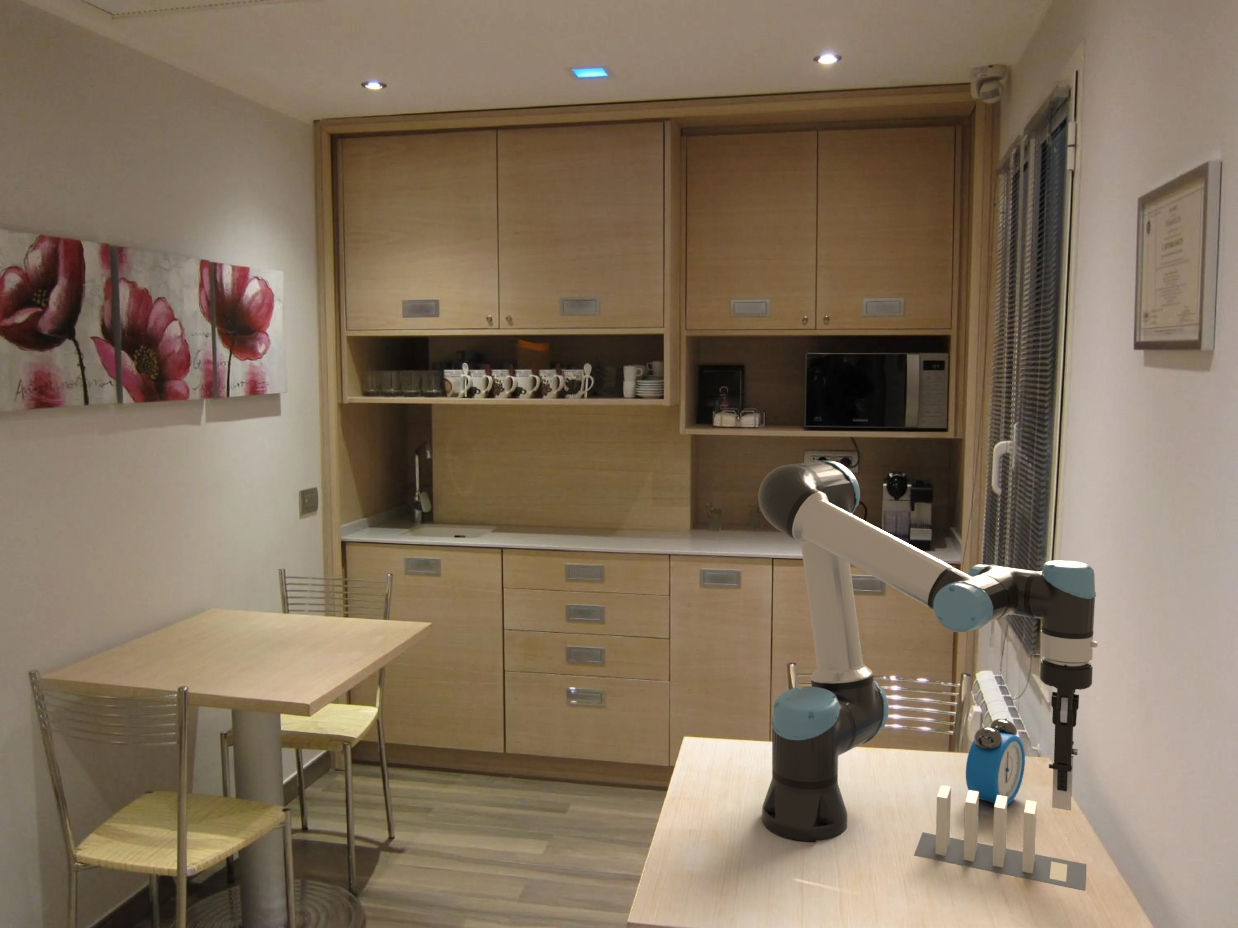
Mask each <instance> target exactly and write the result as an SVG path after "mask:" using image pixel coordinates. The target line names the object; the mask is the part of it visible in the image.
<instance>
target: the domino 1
mask: <svg viewBox="0 0 1238 928" xmlns="http://www.w3.org/2000/svg"><path fill="white" fill-rule="evenodd" d="M951 794H952V786H948V785H940V788H939V790H938V793H937V795H936V815H935V817H936V819H935V821H936V822H935V823H936V825H935V835H936V854H939V855H944V856H946V853H947V849H948V846H949V843H950V838H951V808H952V807H951V804H952V803H951V801H952V799H951V798H952V795H951Z"/></svg>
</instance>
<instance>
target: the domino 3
mask: <svg viewBox="0 0 1238 928" xmlns="http://www.w3.org/2000/svg"><path fill="white" fill-rule="evenodd" d="M993 807H994V808H993V833H992V834H993V836H992V837H993V838H992V839H993V841H992V846H993V866H998V867H1003V865H1004V860H1005V855H1006V849H1007V826H1008V824H1007V823H1008V822H1007V820H1008V805H1007V796H1001V795H997V798H996V802H995V803H994V806H993Z"/></svg>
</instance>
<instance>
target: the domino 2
mask: <svg viewBox="0 0 1238 928" xmlns="http://www.w3.org/2000/svg"><path fill="white" fill-rule="evenodd" d="M966 794H967V795H966V797H965V798H966V799H965V801H964V828H963V829H964V832H963V833H964V835H963V840H964V860H968V861H973V862H974V859H975V855H976V851H977V843H978V842H979V841H978V837H979V834H978V833H979V831H978V830H979V801H980V799H979V792H978V791H972V790H968V791H967V793H966Z"/></svg>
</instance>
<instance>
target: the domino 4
mask: <svg viewBox="0 0 1238 928" xmlns="http://www.w3.org/2000/svg"><path fill="white" fill-rule="evenodd" d="M1036 828H1037V800H1036V801H1035V800H1029V799H1026V800H1025V804H1024V811H1023V834H1022V835H1023V837H1022V852H1023V860H1022V872H1027V873H1032V874H1033V869H1034V861H1035V854H1036V833H1037V829H1036Z"/></svg>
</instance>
